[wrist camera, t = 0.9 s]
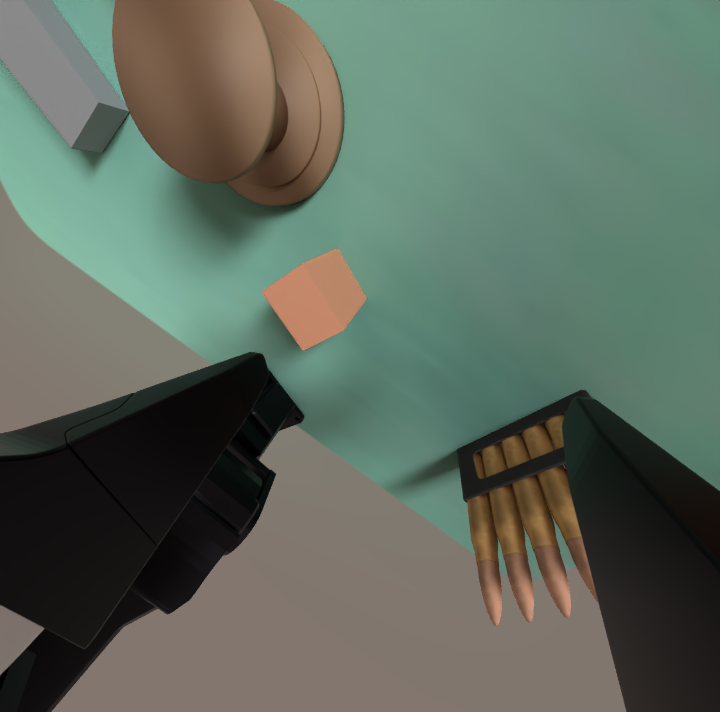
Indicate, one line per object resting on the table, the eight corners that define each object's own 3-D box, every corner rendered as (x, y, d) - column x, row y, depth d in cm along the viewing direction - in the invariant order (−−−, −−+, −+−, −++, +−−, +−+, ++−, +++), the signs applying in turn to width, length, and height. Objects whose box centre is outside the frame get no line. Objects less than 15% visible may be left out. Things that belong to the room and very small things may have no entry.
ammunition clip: (584, 388, 20) (735, 581, 10) (598, 405, 21) (759, 610, 10) (456, 449, 25) (468, 618, 15) (469, 462, 26) (490, 637, 15)
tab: (334, 316, 22) (302, 351, 17) (304, 269, 21) (261, 291, 16) (367, 298, 21) (343, 330, 16) (337, 247, 20) (301, 264, 15)
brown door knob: (265, 232, 20) (200, 244, 15) (175, 95, 18) (54, 46, 12) (373, 145, 16) (340, 117, 11) (280, -46, 14) (173, -212, 8)
